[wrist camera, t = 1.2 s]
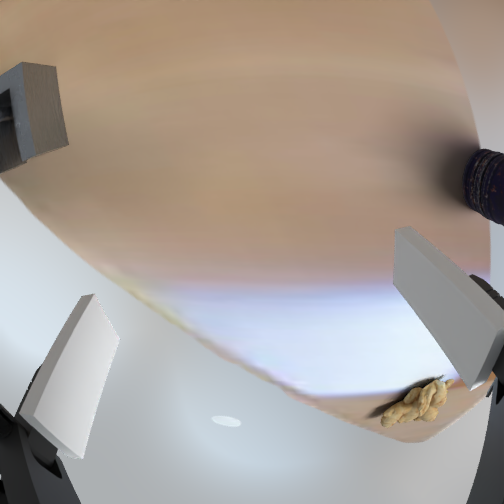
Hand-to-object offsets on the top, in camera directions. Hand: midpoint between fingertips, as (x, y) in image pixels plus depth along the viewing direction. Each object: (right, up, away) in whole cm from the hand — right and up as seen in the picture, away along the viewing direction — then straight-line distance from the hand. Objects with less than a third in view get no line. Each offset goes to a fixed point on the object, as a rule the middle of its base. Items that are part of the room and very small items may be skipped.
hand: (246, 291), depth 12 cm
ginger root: (+37, -30, +42) cm, 64 cm away
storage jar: (+34, +12, +21) cm, 42 cm away
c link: (-26, +17, +13) cm, 34 cm away
